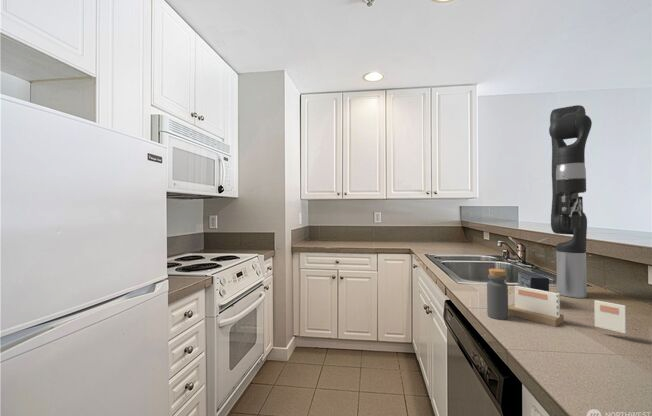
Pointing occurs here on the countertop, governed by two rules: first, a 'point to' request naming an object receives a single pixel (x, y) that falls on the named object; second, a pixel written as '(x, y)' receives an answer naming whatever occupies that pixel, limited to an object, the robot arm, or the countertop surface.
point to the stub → (610, 316)
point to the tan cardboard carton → (536, 306)
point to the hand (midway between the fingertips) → (571, 228)
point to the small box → (533, 281)
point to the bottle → (497, 295)
